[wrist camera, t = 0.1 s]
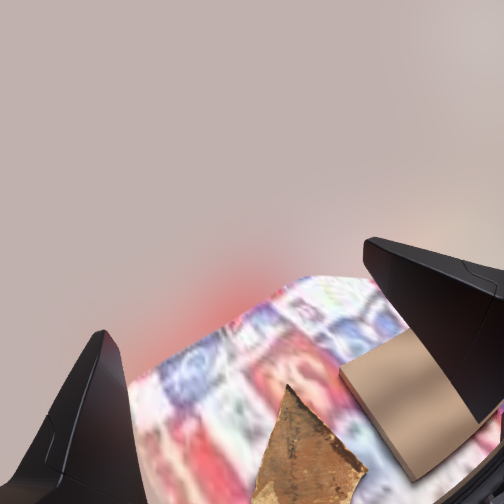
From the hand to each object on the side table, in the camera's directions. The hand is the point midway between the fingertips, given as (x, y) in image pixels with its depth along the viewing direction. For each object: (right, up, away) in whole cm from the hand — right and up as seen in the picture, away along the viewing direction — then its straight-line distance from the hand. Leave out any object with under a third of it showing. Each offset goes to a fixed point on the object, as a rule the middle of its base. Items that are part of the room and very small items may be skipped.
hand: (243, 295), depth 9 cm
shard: (+3, -15, +8) cm, 17 cm away
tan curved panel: (+14, -10, +10) cm, 20 cm away
